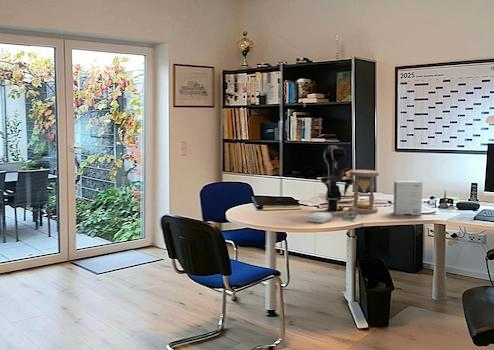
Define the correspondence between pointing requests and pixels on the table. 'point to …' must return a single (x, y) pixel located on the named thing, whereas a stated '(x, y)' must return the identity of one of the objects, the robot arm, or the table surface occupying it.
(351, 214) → the turner
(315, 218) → the photo printer
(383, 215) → the table surface
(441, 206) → the eiffel tower figurine
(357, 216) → the mat
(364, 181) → the hourglass
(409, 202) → the hard drive box
